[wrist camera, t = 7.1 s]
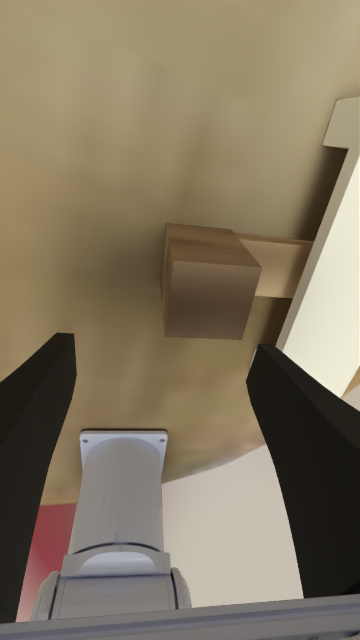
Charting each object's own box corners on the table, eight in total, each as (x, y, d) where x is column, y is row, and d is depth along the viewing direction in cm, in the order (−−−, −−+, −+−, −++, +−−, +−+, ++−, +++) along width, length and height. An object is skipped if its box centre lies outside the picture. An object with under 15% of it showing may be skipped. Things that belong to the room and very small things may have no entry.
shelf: (315, 369, 25) (338, 401, 22) (249, 366, 25) (263, 400, 22) (438, 117, 16) (506, 115, 13) (336, 99, 15) (384, 92, 12)
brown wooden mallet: (368, 298, 22) (433, 348, 17) (160, 283, 20) (164, 336, 15) (395, 246, 20) (479, 285, 15) (166, 223, 18) (173, 260, 13)
